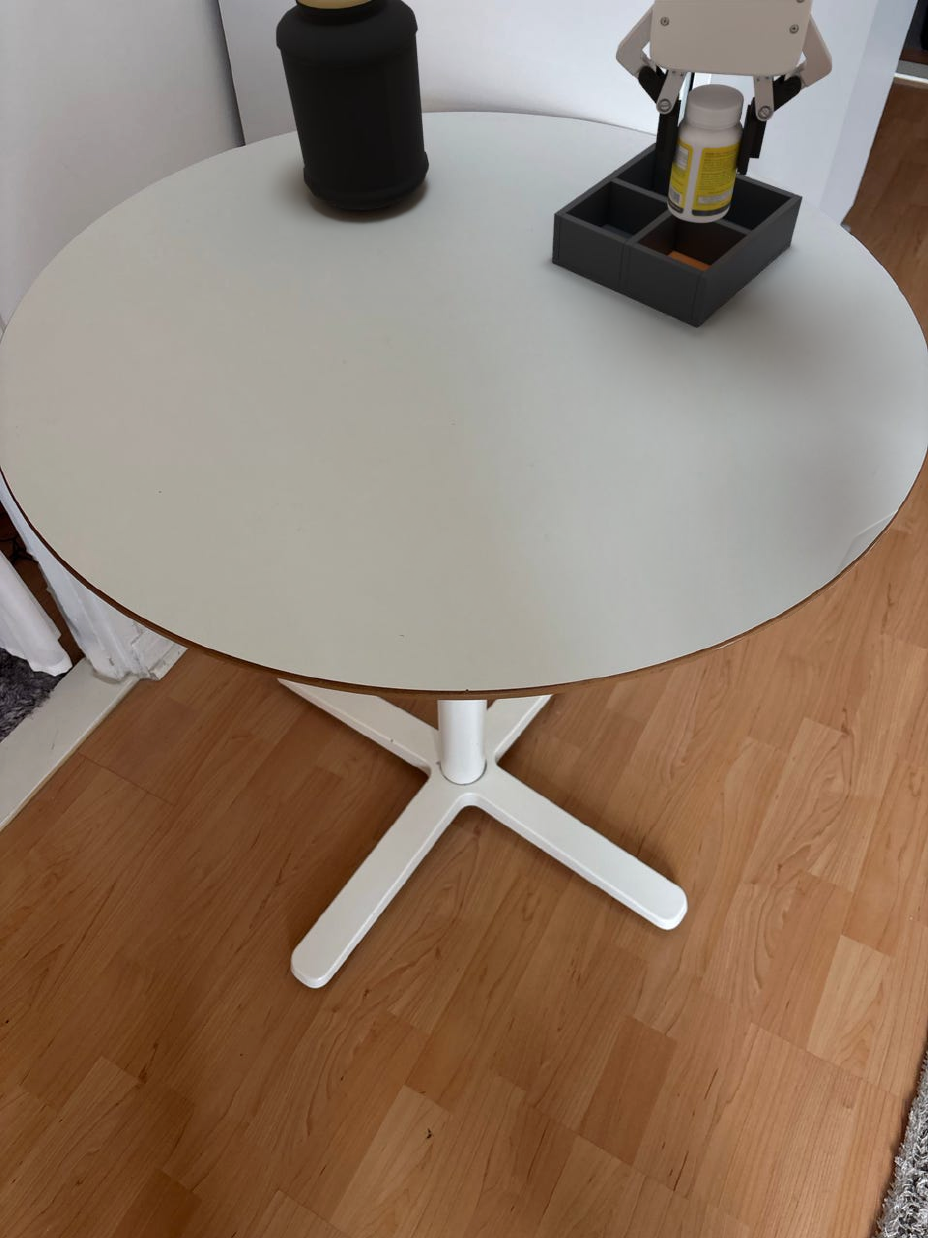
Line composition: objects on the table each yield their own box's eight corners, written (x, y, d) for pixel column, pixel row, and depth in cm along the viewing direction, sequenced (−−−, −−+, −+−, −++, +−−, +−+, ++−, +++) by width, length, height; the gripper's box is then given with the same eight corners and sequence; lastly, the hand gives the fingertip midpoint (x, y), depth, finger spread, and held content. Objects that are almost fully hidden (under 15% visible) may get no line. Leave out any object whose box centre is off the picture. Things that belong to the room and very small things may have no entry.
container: (280, 181, 94) (240, -32, 80) (388, 143, 98) (368, -67, 83) (341, 239, 88) (310, 19, 73) (454, 196, 92) (445, -21, 77)
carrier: (790, 245, 85) (803, 196, 82) (697, 327, 79) (706, 278, 75) (648, 189, 91) (654, 141, 88) (551, 262, 85) (553, 213, 81)
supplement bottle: (738, 201, 77) (761, 89, 70) (713, 231, 74) (735, 118, 68) (681, 185, 78) (698, 75, 72) (655, 213, 76) (670, 102, 69)
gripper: (899, -150, 60) (821, 146, 74) (620, -158, 62) (597, 129, 77) (906, -106, 55) (822, 199, 70) (605, -117, 58) (584, 179, 73)
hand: (705, 160), depth 73 cm, fingers closed on supplement bottle, 4 cm apart
